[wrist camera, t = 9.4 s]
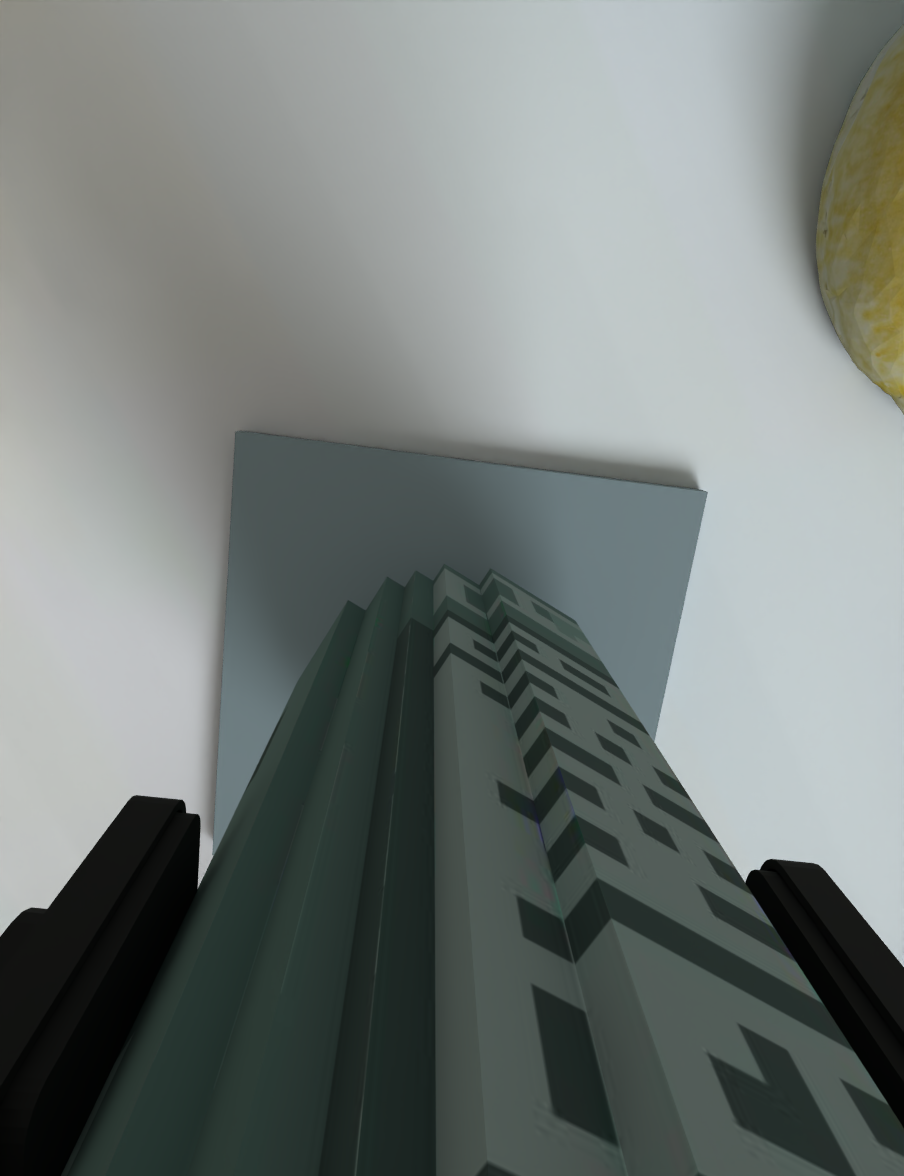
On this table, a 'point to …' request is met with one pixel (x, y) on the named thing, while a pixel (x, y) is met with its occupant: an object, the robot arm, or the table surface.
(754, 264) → the table surface
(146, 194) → the table surface
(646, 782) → the can
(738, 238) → the table surface
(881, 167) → the bread roll
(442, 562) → the coaster
